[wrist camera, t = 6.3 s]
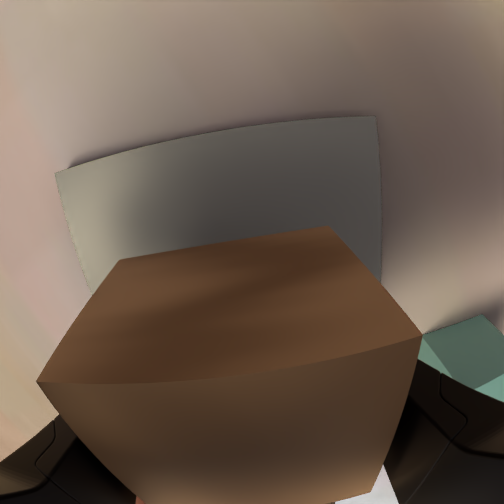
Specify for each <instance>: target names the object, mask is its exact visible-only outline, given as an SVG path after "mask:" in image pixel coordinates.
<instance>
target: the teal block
mask: <svg viewBox="0 0 504 504" xmlns="http://www.w3.org/2000/svg"><path fill="white" fill-rule="evenodd" d="M418 359H419V360H421V361H423V362H425V363H426V364H428V365H430V366H432V367H433V368H435V369H437V370H438V371H440V374H441V373H444V374H446V375H447V376H449V377H451V378H453V379H455V380H456V381H458V382H460V383H462V384H464V385H466V386H468V387H470V388H472V389H474V390H477V391H479V392H481V393H483V394H486V395H488V396H490V397H493V398H495V399H497V400H500V401H502V402H504V335H503V334H502V333H501V332H500V331H499V330H498V329H497V328H496V327H495V326H494V325H493V324H492V323H491V322H490V321H489V320H488V319H487V318H485V317H484V316H483V315H482V314H481V315H479V316H476V317H473V318H471V319H468V320H465V321H463V322H460V323H457V324H454V325H451V326H449V327H446V328H443V329H440V330H437V331H434V332H431V333H427V334H424V335H423V337H422V342H421V346H420V350H419V355H418Z"/></svg>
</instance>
